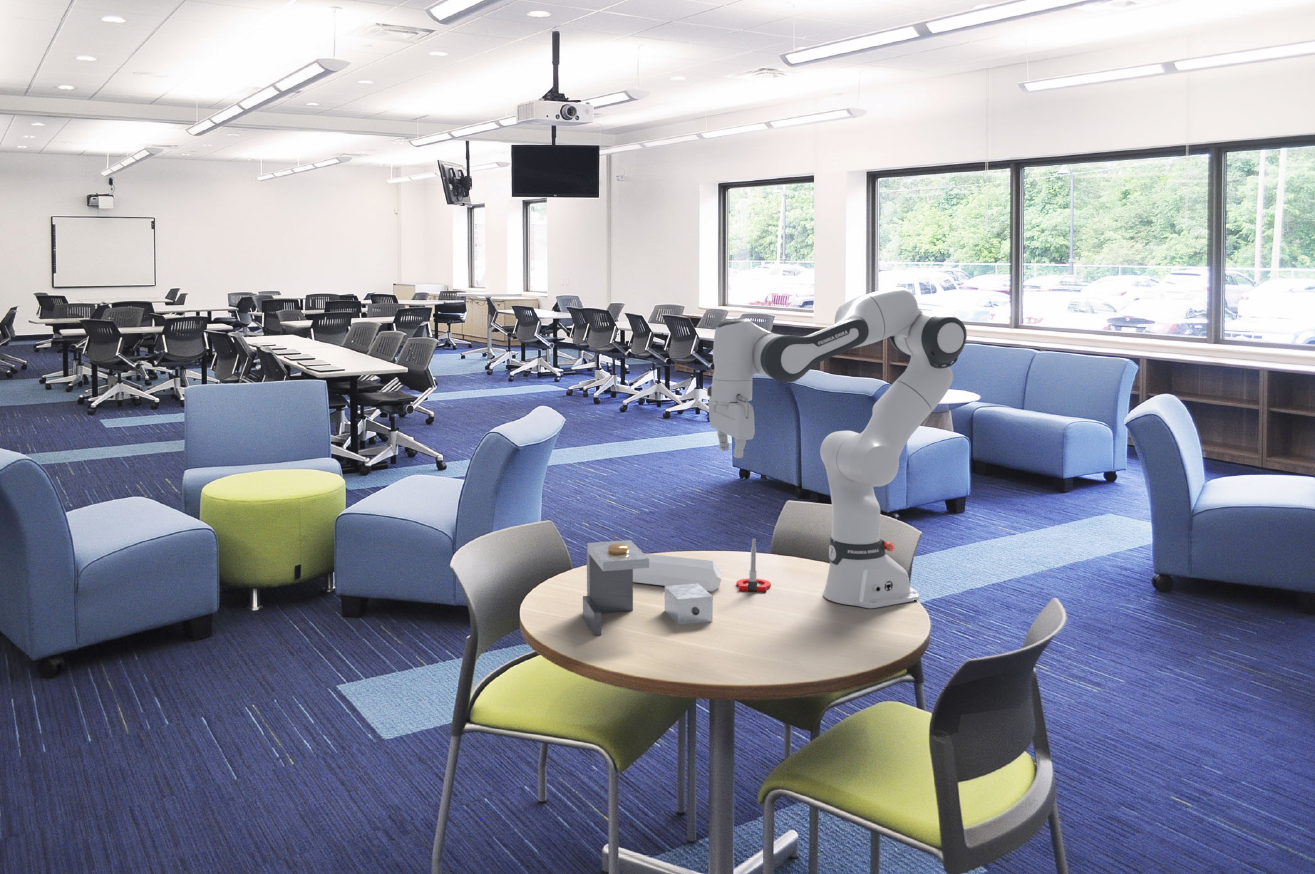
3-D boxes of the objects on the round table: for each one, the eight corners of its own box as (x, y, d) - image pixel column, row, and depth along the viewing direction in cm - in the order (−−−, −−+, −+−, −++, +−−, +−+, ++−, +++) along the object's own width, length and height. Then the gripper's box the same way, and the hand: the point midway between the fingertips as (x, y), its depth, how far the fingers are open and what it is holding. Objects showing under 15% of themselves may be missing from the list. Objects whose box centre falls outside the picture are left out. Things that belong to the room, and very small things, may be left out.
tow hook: (737, 582, 265) (734, 591, 256) (739, 531, 263) (736, 539, 254) (771, 584, 263) (769, 593, 254) (773, 532, 262) (771, 540, 253)
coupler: (629, 606, 244) (629, 533, 241) (648, 630, 228) (649, 553, 225) (578, 610, 241) (577, 537, 238) (594, 635, 225) (593, 557, 222)
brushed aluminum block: (697, 608, 243) (698, 583, 242) (713, 623, 233) (713, 597, 232) (664, 611, 241) (664, 586, 240) (678, 626, 231) (678, 600, 230)
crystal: (621, 570, 260) (714, 581, 251) (631, 549, 265) (722, 559, 256) (627, 591, 264) (718, 602, 256) (636, 570, 270) (726, 581, 261)
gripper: (762, 397, 225) (761, 461, 227) (730, 386, 244) (729, 445, 247) (734, 398, 223) (733, 462, 225) (704, 387, 243) (703, 446, 245)
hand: (731, 453), depth 236 cm, fingers open, 8 cm apart
